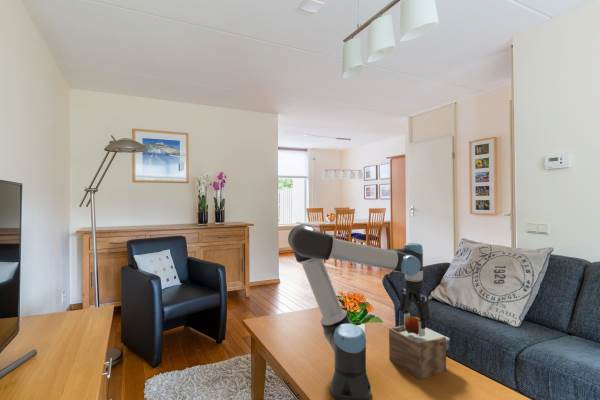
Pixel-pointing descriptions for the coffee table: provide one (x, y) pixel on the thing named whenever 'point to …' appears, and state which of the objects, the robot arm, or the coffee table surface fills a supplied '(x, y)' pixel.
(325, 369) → the coffee table surface
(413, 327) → the fruit
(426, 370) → the brown wooden box
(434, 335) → the trapdoor
